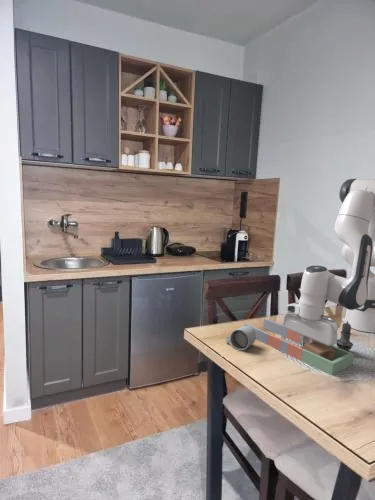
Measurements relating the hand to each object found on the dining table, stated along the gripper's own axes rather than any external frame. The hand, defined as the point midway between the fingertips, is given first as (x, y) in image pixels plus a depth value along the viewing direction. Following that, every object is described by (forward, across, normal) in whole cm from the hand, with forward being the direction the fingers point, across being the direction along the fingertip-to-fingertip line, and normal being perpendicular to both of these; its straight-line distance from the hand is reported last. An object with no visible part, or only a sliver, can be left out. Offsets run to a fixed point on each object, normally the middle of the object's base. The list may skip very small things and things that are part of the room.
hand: (306, 347), depth 124 cm
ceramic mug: (+2, +17, +17) cm, 24 cm away
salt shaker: (+2, -7, -14) cm, 16 cm away
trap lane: (+2, +5, 0) cm, 6 cm away
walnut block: (+2, -6, +1) cm, 6 cm away
